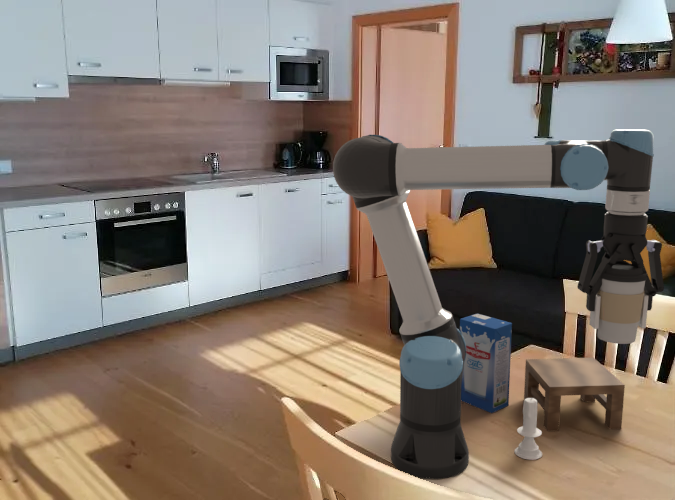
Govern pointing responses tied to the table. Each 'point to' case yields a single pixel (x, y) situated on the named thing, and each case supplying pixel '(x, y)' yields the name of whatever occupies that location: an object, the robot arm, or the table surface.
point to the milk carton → (486, 362)
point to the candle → (529, 432)
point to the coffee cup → (621, 302)
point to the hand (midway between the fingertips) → (617, 326)
